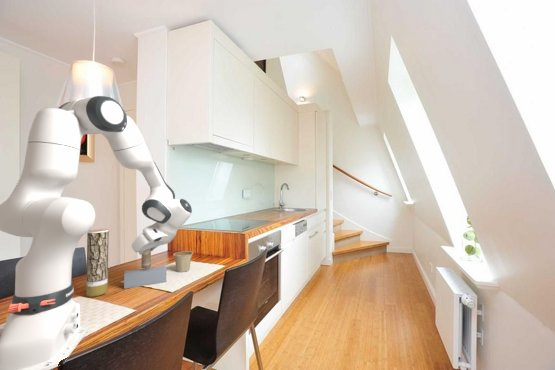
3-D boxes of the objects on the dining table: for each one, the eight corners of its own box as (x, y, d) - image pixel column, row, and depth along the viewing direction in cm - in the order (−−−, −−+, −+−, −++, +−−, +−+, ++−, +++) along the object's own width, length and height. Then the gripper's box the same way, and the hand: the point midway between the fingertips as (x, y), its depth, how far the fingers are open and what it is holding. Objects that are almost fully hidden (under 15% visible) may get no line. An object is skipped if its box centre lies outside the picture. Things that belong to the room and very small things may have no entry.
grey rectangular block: (165, 278, 114) (165, 265, 114) (166, 281, 110) (166, 268, 110) (124, 285, 106) (124, 271, 106) (124, 288, 102) (124, 274, 102)
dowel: (150, 267, 108) (151, 239, 108) (141, 268, 106) (141, 240, 106) (150, 265, 111) (150, 238, 111) (141, 266, 109) (141, 239, 109)
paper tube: (96, 298, 93) (97, 232, 94) (81, 296, 95) (82, 231, 95) (111, 291, 100) (112, 229, 100) (97, 289, 101) (98, 228, 102)
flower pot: (193, 272, 123) (193, 254, 124) (172, 274, 120) (172, 256, 120) (192, 266, 132) (192, 250, 132) (173, 268, 129) (173, 252, 129)
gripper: (175, 222, 117) (158, 241, 119) (141, 228, 97) (121, 251, 100) (183, 232, 116) (165, 251, 118) (150, 240, 96) (129, 263, 98)
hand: (145, 251), depth 109 cm, fingers closed on dowel, 3 cm apart
